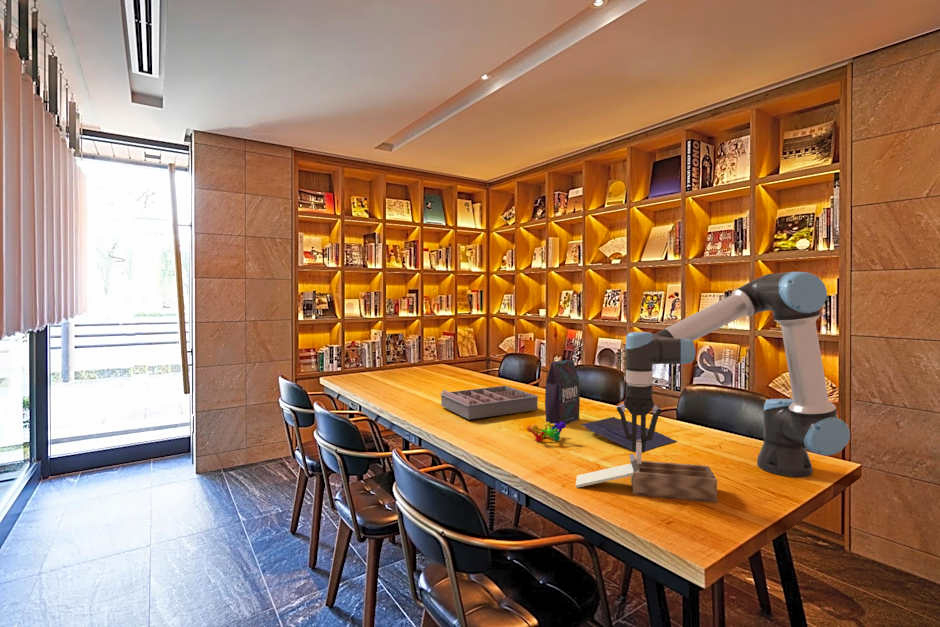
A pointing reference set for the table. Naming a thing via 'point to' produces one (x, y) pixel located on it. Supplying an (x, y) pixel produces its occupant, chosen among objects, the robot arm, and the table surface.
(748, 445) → the table surface
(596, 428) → the dark blue flat slab
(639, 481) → the box
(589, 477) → the lid
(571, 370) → the black coffee bag
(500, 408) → the organizer tray
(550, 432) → the decorative model
